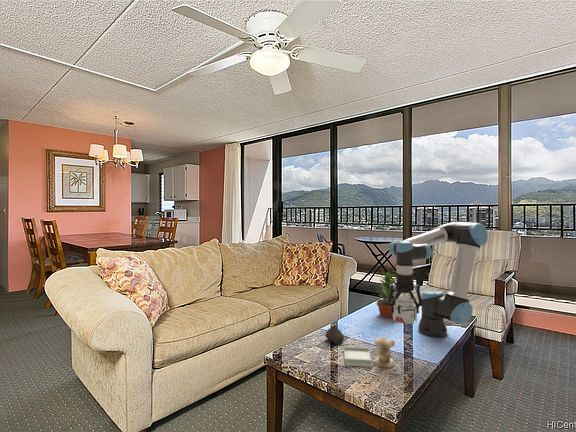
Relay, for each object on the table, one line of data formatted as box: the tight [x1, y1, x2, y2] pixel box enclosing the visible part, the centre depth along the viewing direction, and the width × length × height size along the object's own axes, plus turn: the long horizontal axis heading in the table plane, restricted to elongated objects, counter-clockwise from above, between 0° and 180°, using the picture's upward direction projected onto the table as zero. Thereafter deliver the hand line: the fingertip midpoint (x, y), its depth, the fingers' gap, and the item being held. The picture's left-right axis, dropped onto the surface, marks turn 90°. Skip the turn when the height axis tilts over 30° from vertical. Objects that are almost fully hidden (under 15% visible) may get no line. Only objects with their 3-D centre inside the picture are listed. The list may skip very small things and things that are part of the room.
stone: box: [325, 326, 345, 346], centre depth 174 cm, size 10×8×10 cm
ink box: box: [394, 295, 415, 325], centre depth 157 cm, size 8×5×12 cm, turn 73°
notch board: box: [343, 345, 373, 368], centre depth 154 cm, size 12×15×3 cm
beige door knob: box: [373, 337, 396, 369], centre depth 149 cm, size 9×9×10 cm
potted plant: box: [376, 270, 398, 319], centre depth 213 cm, size 15×15×30 cm
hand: (404, 319), depth 157 cm, fingers closed on ink box, 9 cm apart
